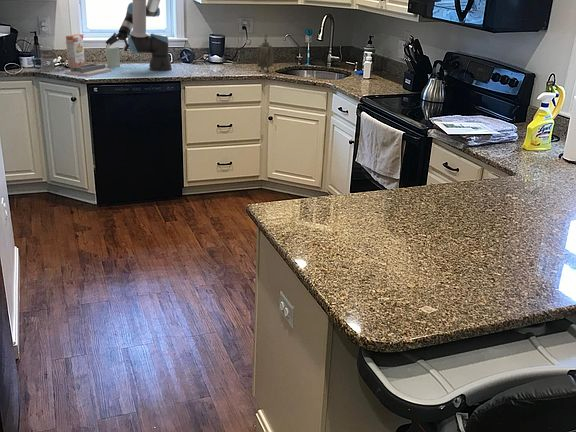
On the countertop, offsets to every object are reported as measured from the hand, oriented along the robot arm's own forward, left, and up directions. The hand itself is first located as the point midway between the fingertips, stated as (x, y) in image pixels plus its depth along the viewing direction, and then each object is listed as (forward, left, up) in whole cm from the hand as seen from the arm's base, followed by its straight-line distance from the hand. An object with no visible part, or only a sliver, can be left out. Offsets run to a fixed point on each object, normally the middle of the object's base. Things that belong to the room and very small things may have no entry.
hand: (114, 53), depth 432 cm
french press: (+23, +39, -9) cm, 46 cm away
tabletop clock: (-96, -42, -9) cm, 105 cm away
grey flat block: (-1, +30, -9) cm, 31 cm away
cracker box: (+19, +17, -9) cm, 27 cm away
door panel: (-1, +3, -9) cm, 9 cm away
